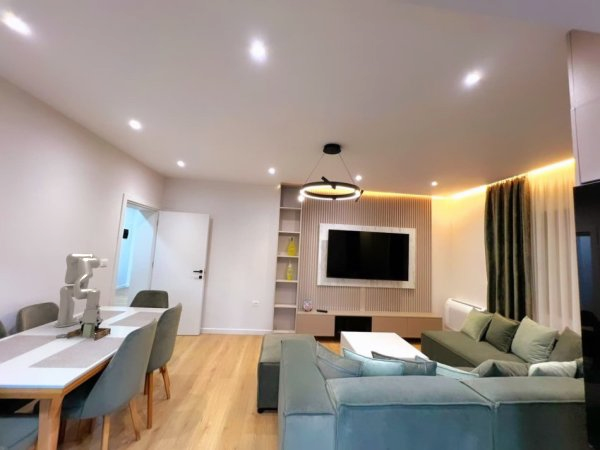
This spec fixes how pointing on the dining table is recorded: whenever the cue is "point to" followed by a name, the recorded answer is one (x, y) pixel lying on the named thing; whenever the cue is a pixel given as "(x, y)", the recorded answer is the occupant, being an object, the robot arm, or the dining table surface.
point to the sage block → (89, 330)
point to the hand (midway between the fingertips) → (89, 330)
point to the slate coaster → (61, 336)
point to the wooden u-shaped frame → (99, 333)
